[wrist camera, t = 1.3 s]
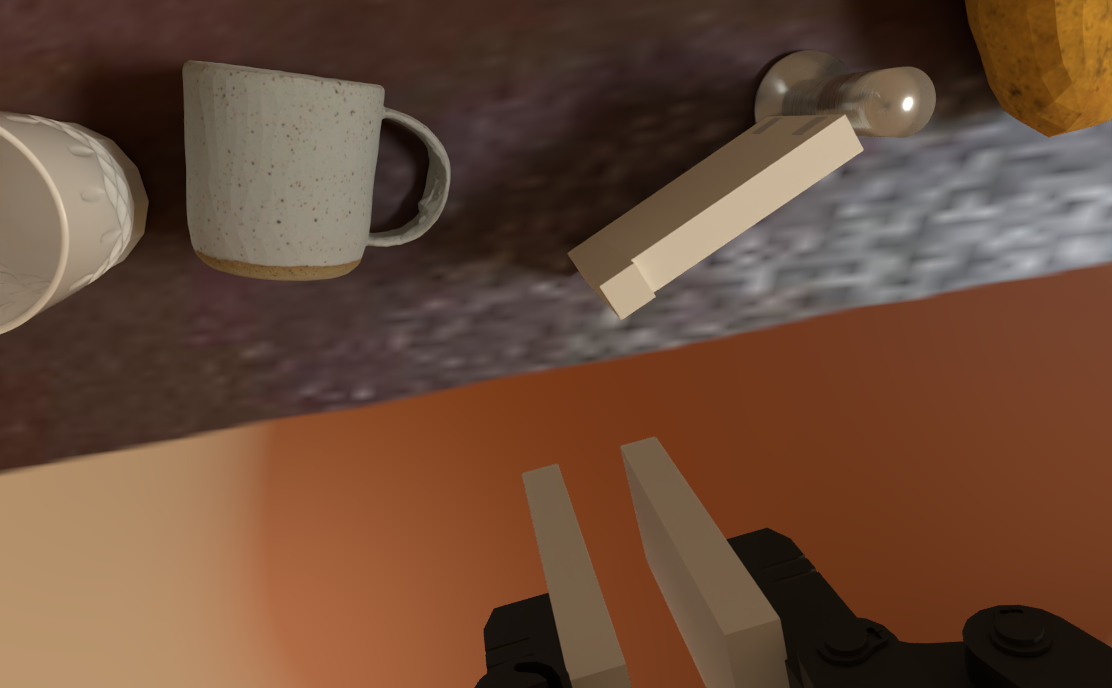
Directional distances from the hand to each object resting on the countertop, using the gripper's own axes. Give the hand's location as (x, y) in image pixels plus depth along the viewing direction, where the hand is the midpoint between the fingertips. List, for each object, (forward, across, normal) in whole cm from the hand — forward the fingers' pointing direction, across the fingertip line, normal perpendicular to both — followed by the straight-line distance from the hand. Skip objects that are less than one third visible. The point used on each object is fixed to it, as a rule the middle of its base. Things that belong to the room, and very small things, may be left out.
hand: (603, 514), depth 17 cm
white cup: (+25, -18, +9) cm, 32 cm away
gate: (+24, +9, +2) cm, 25 cm away
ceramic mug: (+25, -7, +8) cm, 27 cm away
